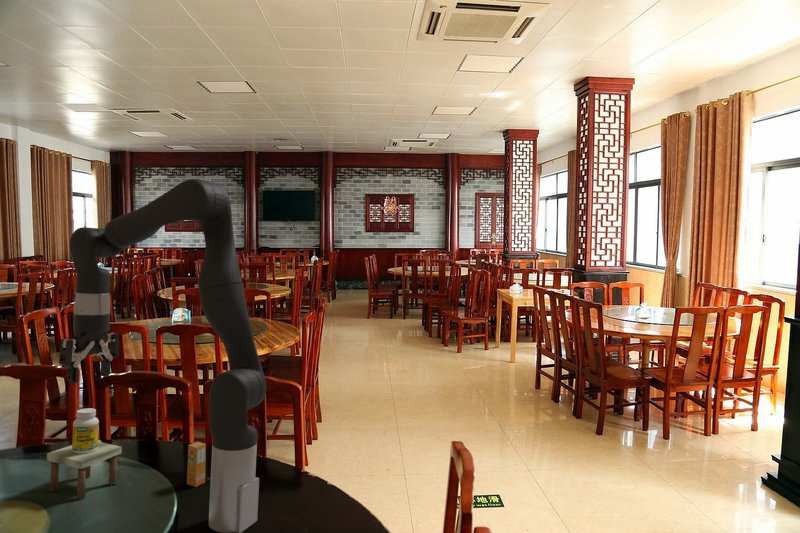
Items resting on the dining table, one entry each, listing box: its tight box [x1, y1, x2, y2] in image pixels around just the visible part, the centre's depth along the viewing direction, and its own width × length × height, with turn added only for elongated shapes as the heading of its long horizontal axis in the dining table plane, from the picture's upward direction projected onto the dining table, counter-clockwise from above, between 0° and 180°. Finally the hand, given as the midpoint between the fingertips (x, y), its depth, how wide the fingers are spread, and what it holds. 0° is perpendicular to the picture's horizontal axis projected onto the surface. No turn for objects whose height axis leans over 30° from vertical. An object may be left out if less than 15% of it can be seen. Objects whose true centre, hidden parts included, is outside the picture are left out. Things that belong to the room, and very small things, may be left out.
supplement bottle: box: [71, 407, 100, 454], centre depth 129 cm, size 5×5×10 cm
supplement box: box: [186, 441, 207, 488], centre depth 135 cm, size 3×3×10 cm
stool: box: [46, 441, 123, 501], centre depth 130 cm, size 11×11×9 cm
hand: (89, 379), depth 129 cm, fingers open, 8 cm apart
